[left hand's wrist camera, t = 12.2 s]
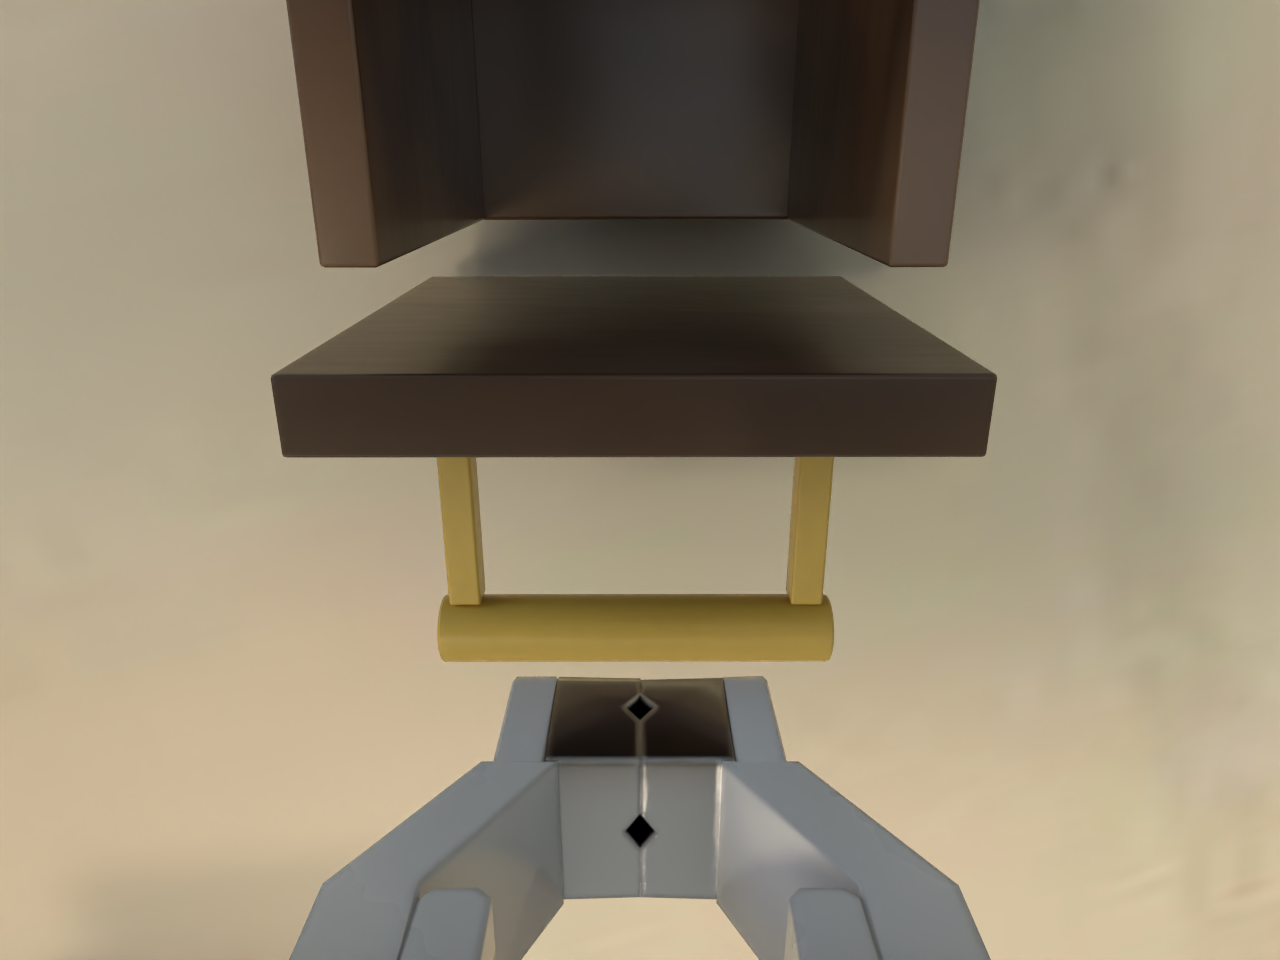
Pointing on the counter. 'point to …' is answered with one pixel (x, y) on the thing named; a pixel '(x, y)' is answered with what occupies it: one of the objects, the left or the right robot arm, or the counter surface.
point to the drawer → (633, 306)
